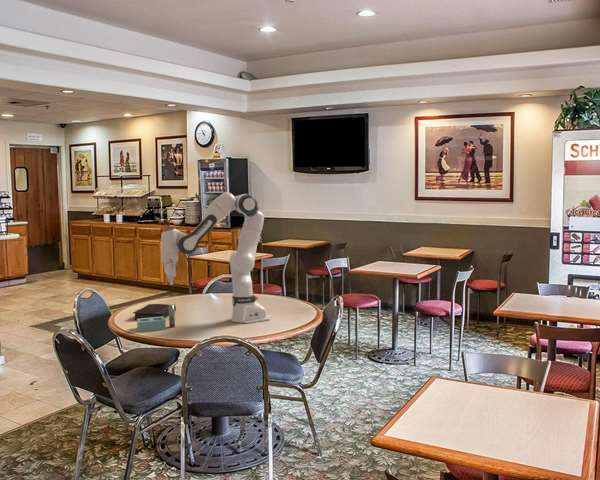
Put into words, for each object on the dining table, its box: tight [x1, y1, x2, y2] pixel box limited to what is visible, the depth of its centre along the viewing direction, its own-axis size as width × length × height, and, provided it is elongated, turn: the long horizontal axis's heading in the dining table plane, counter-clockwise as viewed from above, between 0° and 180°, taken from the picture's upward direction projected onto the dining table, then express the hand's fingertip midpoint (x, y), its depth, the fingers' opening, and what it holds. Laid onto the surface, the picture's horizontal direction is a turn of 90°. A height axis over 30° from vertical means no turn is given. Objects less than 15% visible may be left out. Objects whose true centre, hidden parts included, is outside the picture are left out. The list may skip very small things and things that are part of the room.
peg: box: [168, 304, 176, 328], centre depth 314 cm, size 3×3×12 cm
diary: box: [132, 303, 177, 321], centre depth 344 cm, size 19×25×5 cm
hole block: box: [136, 316, 167, 333], centre depth 312 cm, size 14×10×5 cm
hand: (170, 283), depth 313 cm, fingers open, 8 cm apart
